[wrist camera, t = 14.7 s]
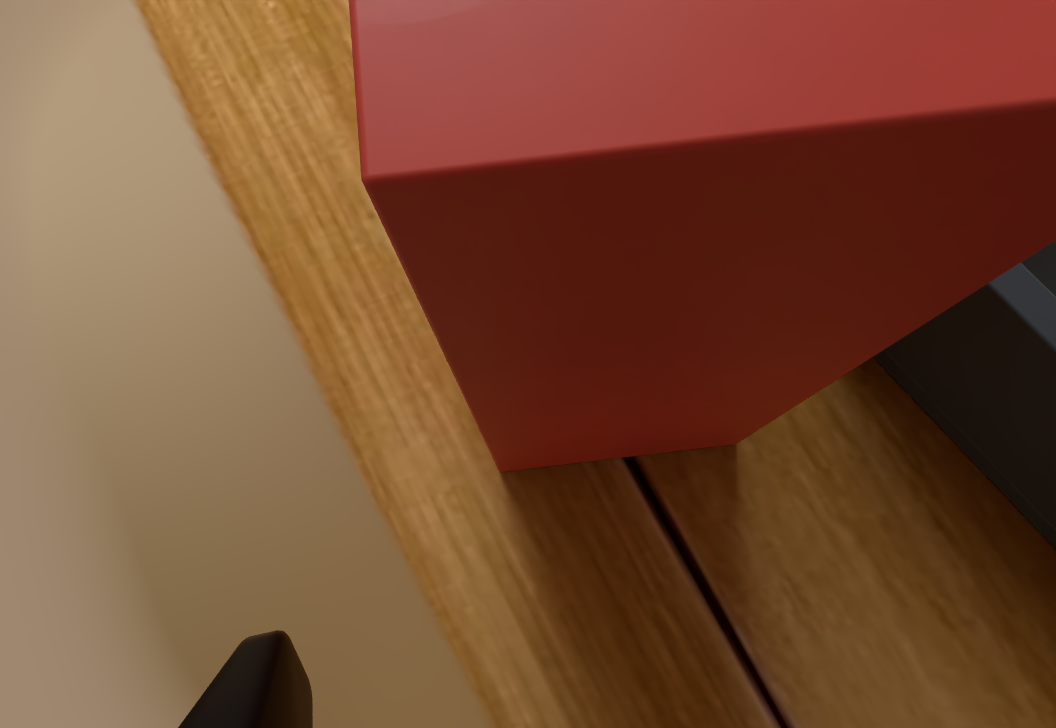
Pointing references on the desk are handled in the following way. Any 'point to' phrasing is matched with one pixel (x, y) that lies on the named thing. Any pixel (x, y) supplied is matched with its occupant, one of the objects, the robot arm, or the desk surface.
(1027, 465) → the dark gray tray
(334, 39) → the desk surface
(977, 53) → the package
